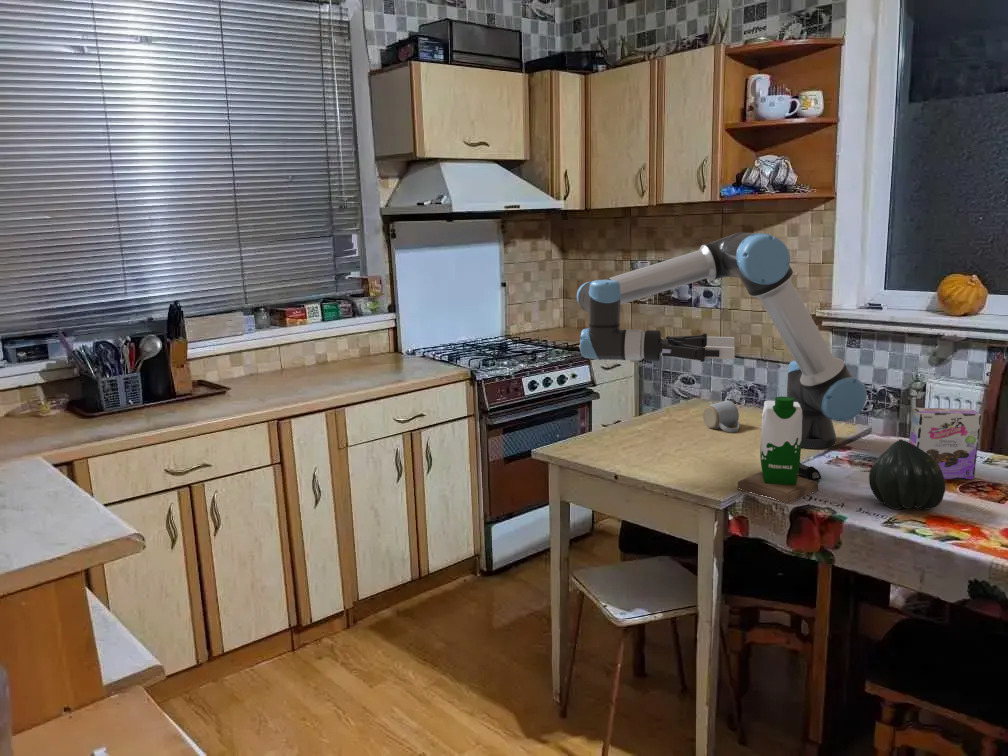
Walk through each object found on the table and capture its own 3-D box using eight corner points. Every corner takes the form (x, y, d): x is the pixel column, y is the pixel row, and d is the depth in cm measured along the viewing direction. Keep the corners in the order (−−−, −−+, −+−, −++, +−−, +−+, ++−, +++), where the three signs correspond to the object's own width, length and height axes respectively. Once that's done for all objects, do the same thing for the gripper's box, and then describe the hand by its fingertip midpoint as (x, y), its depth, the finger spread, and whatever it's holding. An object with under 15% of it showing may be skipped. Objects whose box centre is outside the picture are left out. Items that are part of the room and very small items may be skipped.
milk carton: (760, 484, 191) (764, 400, 187) (757, 472, 200) (761, 391, 195) (800, 486, 189) (806, 401, 185) (796, 474, 198) (801, 392, 193)
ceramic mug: (700, 426, 248) (701, 401, 246) (721, 422, 252) (722, 397, 250) (725, 435, 239) (726, 409, 237) (746, 431, 242) (747, 405, 241)
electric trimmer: (778, 463, 215) (778, 451, 214) (822, 480, 201) (823, 467, 200) (766, 465, 213) (767, 453, 213) (810, 482, 199) (811, 470, 199)
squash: (948, 500, 171) (946, 435, 177) (869, 494, 176) (870, 431, 183) (941, 525, 182) (940, 462, 189) (867, 518, 188) (868, 458, 195)
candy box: (913, 478, 200) (919, 412, 196) (905, 470, 205) (911, 406, 202) (974, 480, 198) (982, 413, 194) (965, 472, 204) (972, 407, 200)
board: (768, 476, 203) (769, 467, 203) (818, 490, 193) (818, 480, 193) (737, 489, 195) (738, 480, 194) (787, 504, 185) (788, 494, 185)
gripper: (648, 351, 215) (733, 353, 210) (638, 371, 191) (734, 374, 186) (649, 322, 213) (734, 324, 208) (639, 338, 190) (735, 341, 185)
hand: (734, 347), depth 197 cm, fingers open, 13 cm apart
